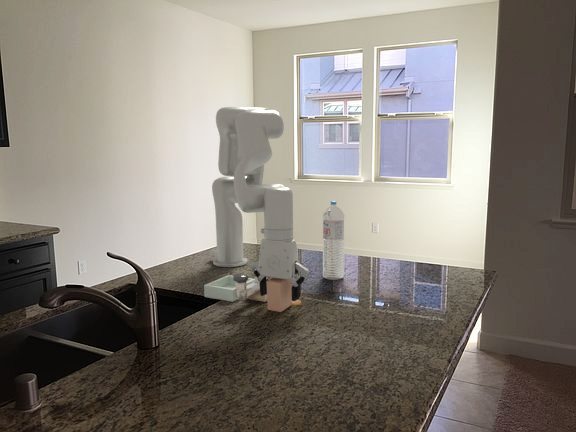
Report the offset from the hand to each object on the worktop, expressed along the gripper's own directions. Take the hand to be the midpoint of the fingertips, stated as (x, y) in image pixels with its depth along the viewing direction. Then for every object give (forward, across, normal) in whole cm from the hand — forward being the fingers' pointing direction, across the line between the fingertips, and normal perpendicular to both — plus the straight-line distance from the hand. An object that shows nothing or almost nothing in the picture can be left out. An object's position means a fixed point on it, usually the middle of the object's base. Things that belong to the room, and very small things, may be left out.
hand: (279, 297), depth 132 cm
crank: (0, -9, 0) cm, 9 cm away
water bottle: (+3, +1, +33) cm, 33 cm away
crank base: (+3, -4, +5) cm, 7 cm away
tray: (+3, -19, +4) cm, 20 cm away
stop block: (+3, 0, 0) cm, 3 cm away
